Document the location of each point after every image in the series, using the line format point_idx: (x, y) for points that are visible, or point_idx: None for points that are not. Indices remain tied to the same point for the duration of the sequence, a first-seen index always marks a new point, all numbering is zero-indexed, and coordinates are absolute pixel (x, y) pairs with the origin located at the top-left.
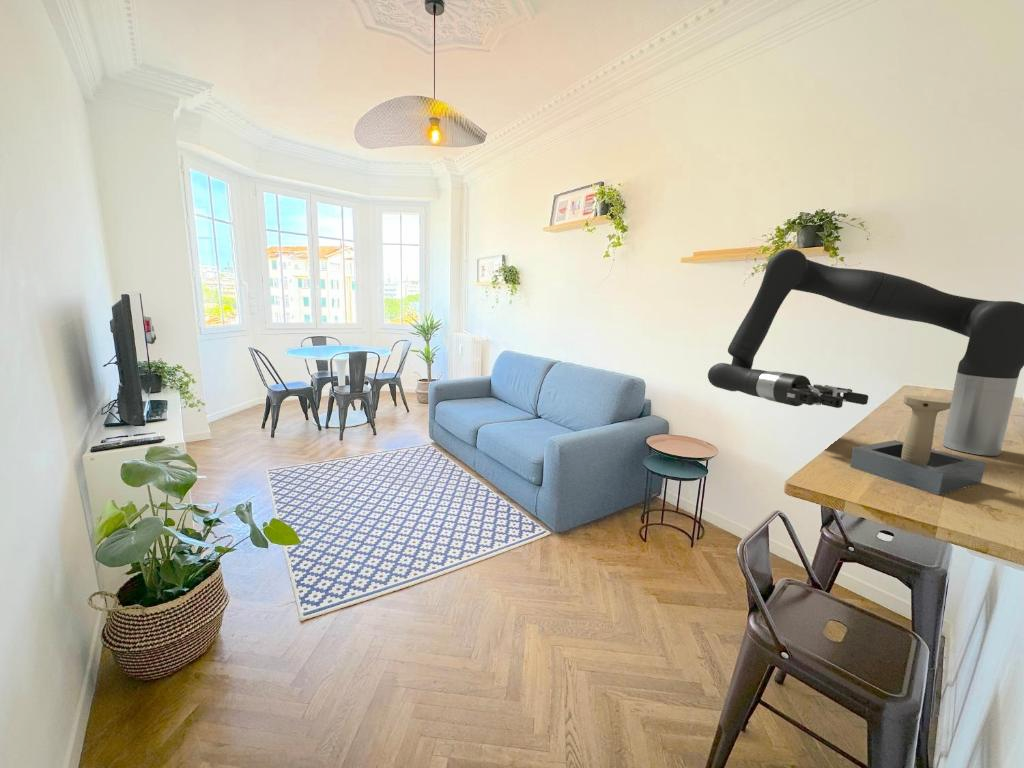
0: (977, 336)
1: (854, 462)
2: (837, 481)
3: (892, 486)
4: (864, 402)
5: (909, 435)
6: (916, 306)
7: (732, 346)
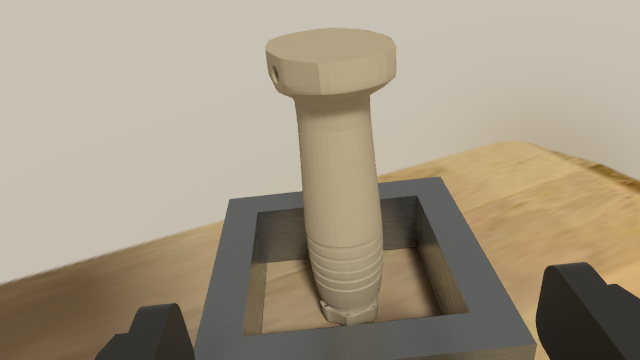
0: None
1: None
2: None
3: (513, 269)
4: (191, 354)
5: (377, 196)
6: None
7: None
